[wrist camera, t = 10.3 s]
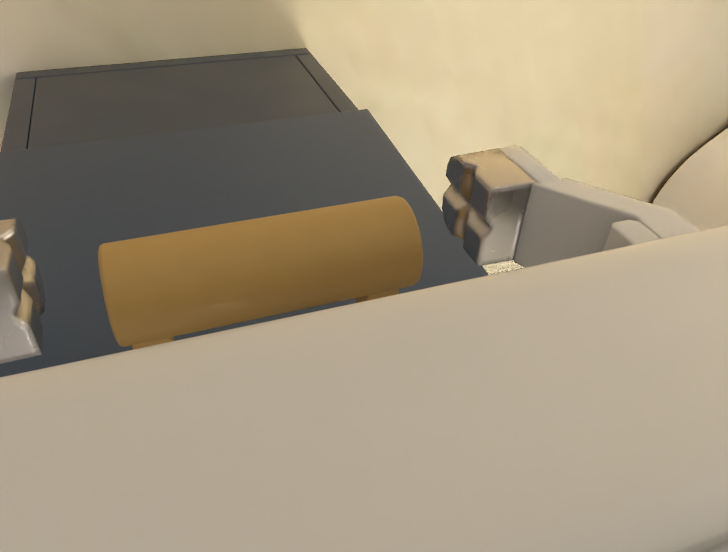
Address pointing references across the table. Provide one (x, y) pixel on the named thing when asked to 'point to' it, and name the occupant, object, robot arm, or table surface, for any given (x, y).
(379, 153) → the lid
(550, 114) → the table surface
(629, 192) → the table surface
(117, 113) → the chest
